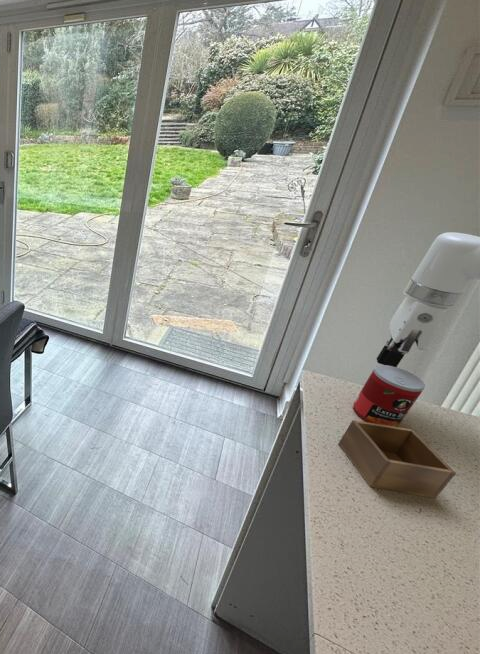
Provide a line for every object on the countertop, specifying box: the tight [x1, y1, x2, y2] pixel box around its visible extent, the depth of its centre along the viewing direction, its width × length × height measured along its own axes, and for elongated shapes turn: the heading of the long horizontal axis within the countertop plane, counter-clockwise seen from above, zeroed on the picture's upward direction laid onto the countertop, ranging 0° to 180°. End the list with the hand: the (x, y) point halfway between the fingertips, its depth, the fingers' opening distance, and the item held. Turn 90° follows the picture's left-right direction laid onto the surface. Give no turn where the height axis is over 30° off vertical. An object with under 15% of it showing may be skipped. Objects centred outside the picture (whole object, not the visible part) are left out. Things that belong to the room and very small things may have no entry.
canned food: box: [352, 364, 426, 427], centre depth 87 cm, size 8×8×11 cm
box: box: [338, 420, 457, 499], centre depth 75 cm, size 10×10×6 cm
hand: (385, 363), depth 92 cm, fingers closed
